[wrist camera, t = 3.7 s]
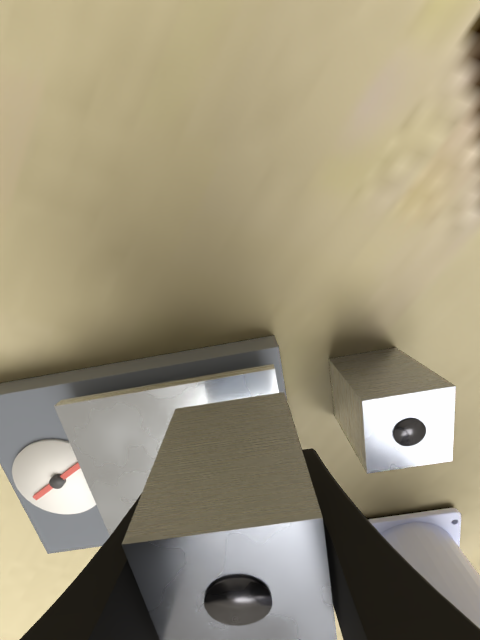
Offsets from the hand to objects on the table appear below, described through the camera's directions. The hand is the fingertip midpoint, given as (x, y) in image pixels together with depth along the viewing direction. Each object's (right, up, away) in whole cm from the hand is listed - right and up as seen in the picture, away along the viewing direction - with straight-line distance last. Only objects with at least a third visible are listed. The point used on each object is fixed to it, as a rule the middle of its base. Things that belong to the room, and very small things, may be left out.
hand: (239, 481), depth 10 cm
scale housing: (-5, -3, +9) cm, 11 cm away
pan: (-3, -3, +8) cm, 9 cm away
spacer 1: (0, +1, +1) cm, 2 cm away
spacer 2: (+9, +2, +8) cm, 12 cm away
